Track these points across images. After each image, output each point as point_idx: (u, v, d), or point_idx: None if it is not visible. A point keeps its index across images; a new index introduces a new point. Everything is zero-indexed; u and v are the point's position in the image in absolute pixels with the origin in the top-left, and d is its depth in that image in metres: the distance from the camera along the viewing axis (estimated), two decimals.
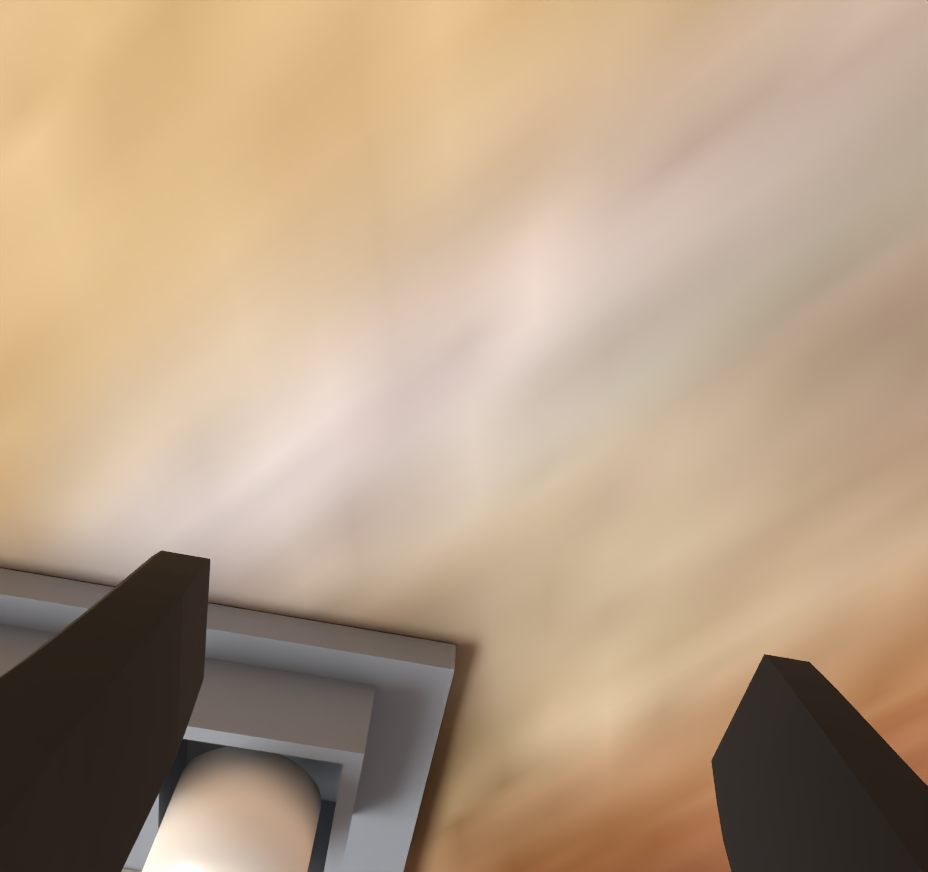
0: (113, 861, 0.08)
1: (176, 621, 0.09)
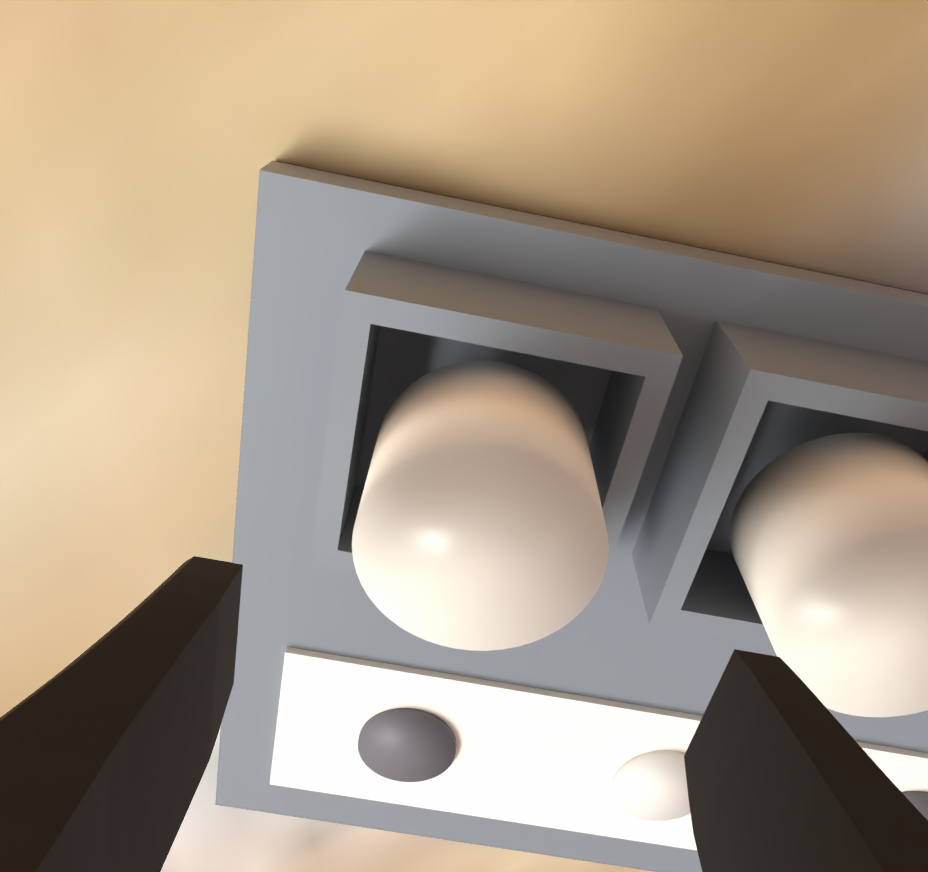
0: (151, 866, 0.08)
1: (213, 627, 0.09)
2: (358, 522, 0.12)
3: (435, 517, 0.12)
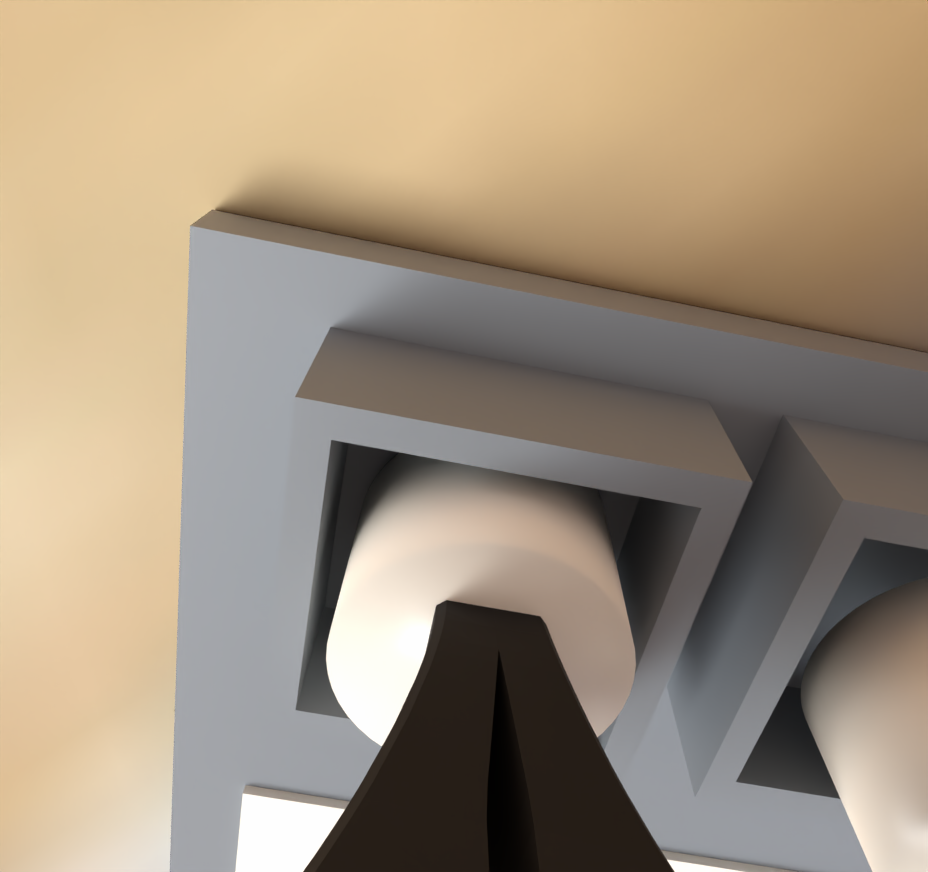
0: None
1: None
2: (333, 633, 0.10)
3: (426, 628, 0.10)
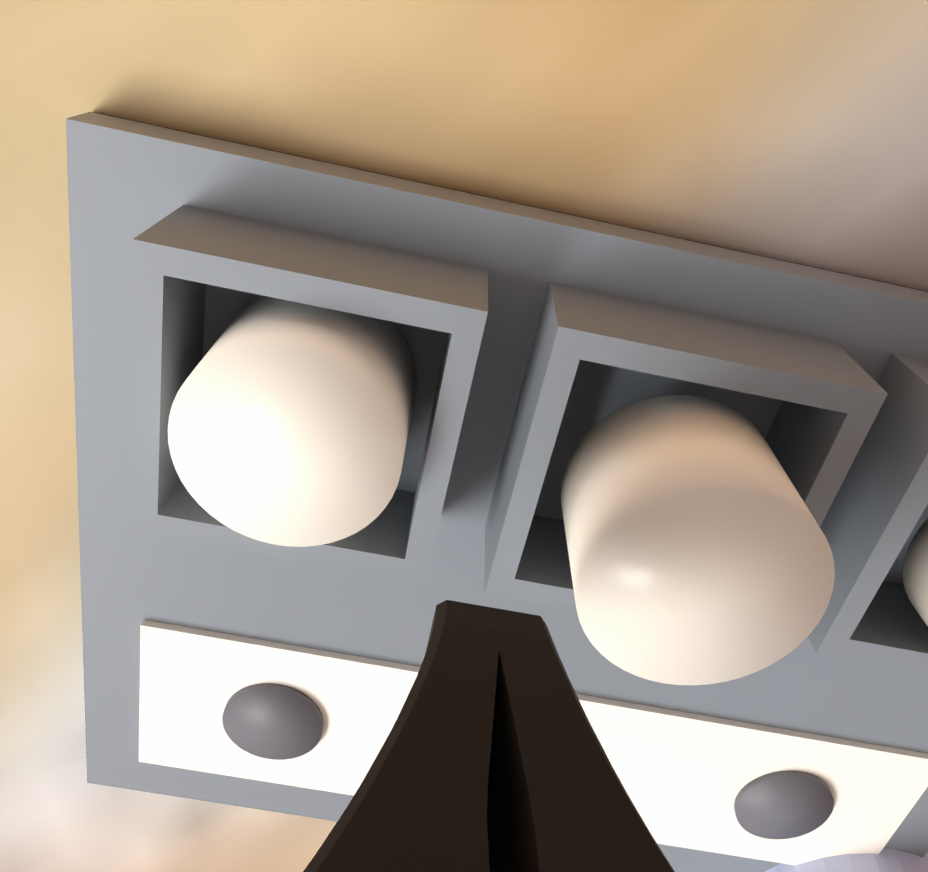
0: None
1: None
2: (171, 420, 0.13)
3: (240, 415, 0.13)
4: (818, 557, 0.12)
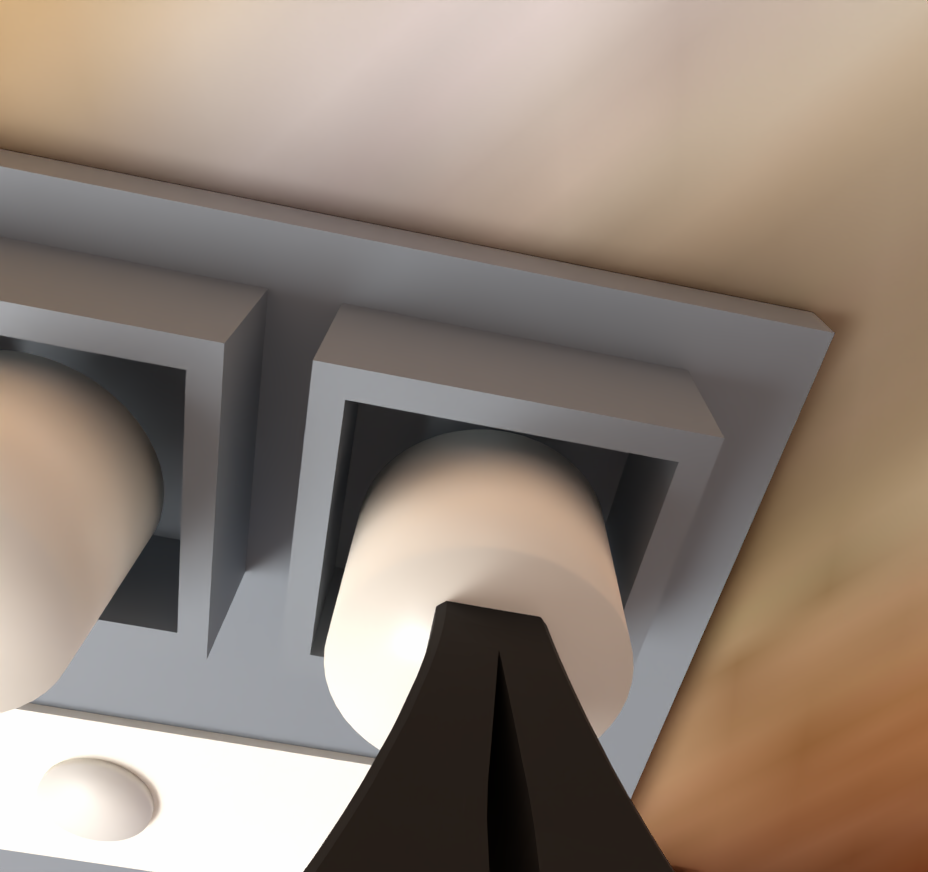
0: None
1: None
2: None
3: None
4: (26, 550, 0.09)
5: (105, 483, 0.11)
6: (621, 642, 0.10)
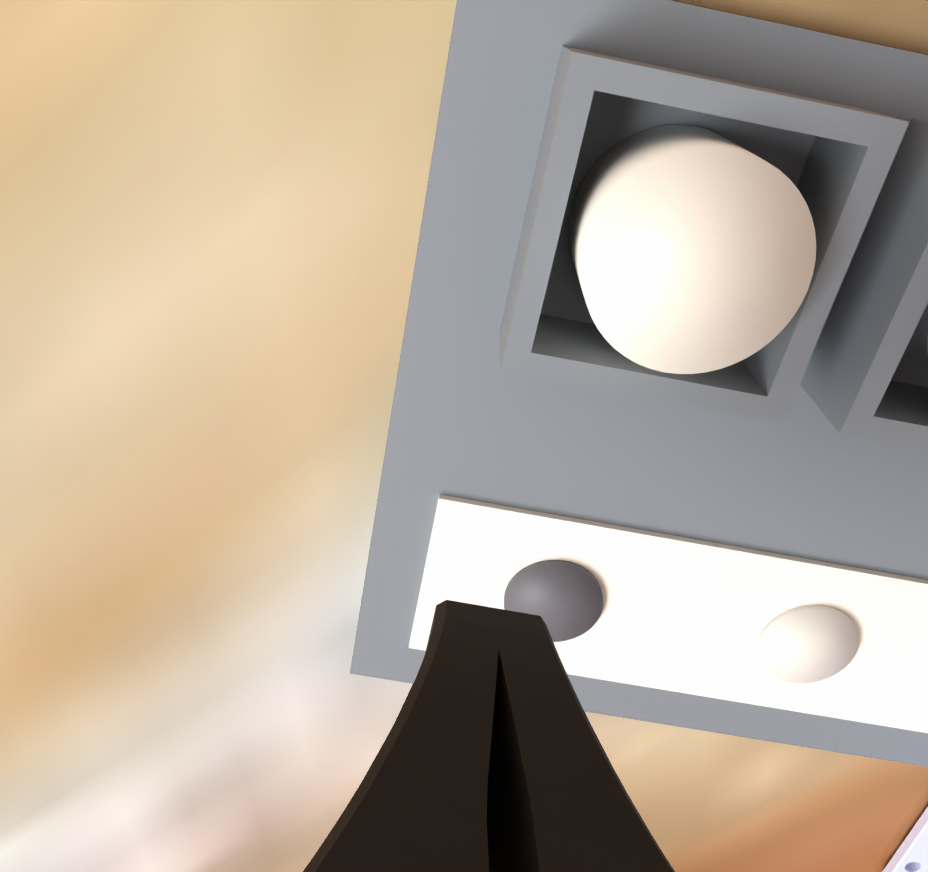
0: None
1: None
2: (592, 236, 0.14)
3: (662, 229, 0.14)
4: None
5: None
6: None
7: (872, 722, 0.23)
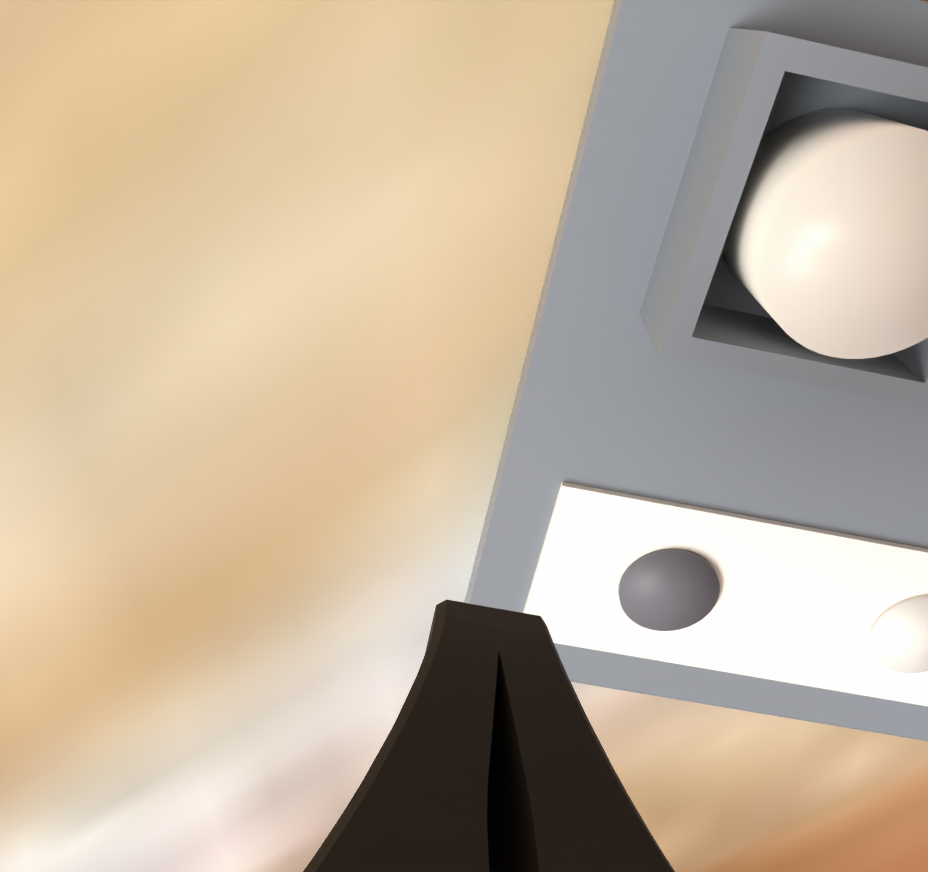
0: None
1: None
2: (777, 219, 0.14)
3: (848, 212, 0.14)
4: None
5: None
6: None
7: None
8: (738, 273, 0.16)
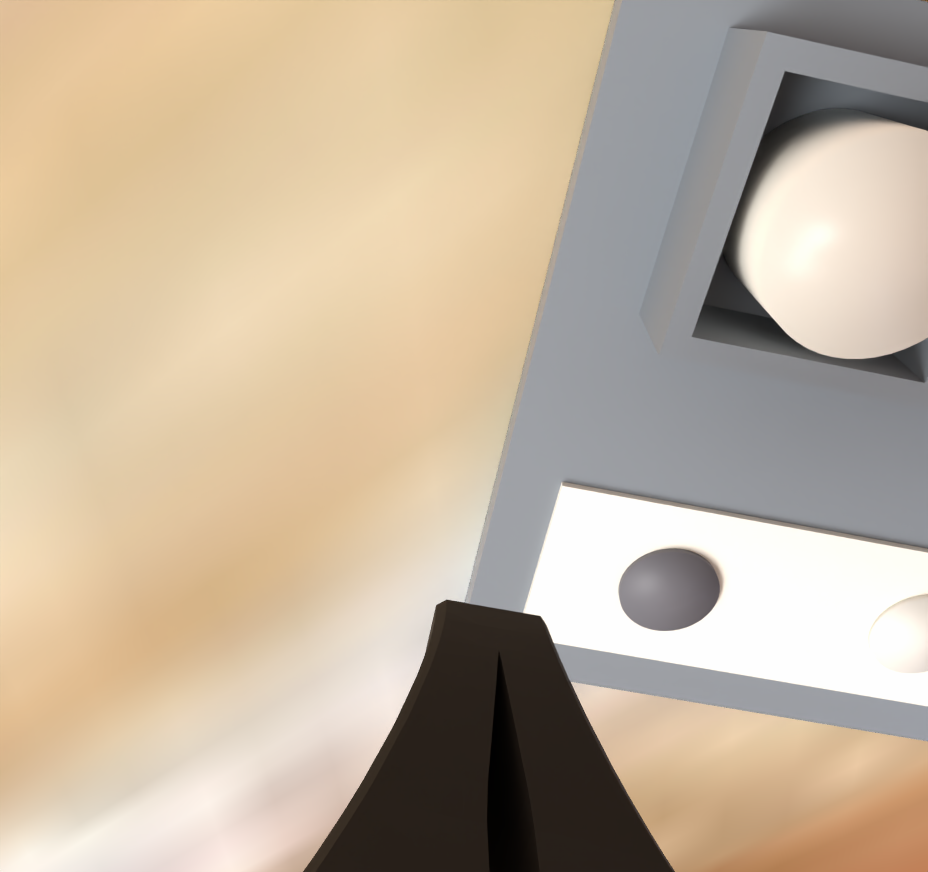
0: None
1: None
2: (777, 219, 0.14)
3: (848, 212, 0.14)
4: None
5: None
6: None
7: None
8: (738, 273, 0.16)
